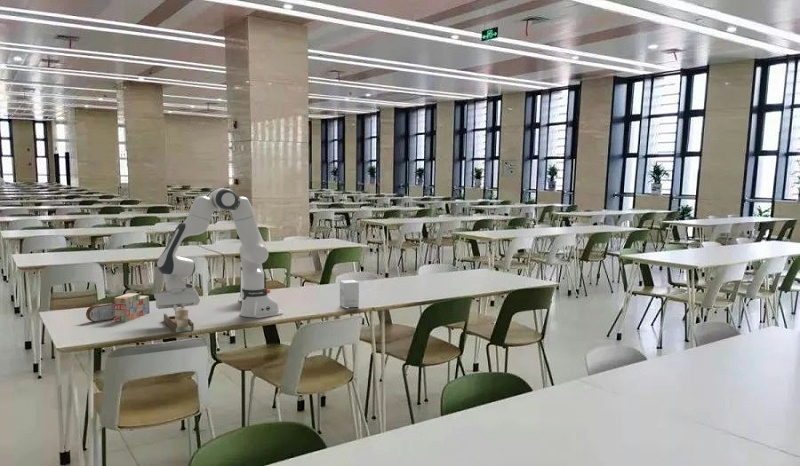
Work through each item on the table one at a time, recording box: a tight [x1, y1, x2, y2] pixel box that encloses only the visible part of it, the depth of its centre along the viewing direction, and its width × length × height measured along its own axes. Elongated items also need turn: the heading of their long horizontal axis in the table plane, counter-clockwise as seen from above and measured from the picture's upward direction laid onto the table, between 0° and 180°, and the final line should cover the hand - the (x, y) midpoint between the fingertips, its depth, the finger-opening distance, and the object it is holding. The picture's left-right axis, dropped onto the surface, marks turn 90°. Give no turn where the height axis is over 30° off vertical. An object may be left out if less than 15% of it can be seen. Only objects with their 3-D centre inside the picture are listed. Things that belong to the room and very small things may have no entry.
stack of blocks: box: [114, 292, 150, 323], centre depth 309 cm, size 21×6×12 cm, turn 172°
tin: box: [85, 302, 115, 323], centre depth 300 cm, size 15×3×8 cm, turn 141°
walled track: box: [163, 313, 195, 333], centre depth 294 cm, size 9×26×4 cm, turn 31°
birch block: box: [174, 307, 189, 327], centre depth 286 cm, size 5×5×8 cm
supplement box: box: [339, 279, 360, 309], centre depth 346 cm, size 9×9×15 cm
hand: (180, 313), depth 291 cm, fingers closed
